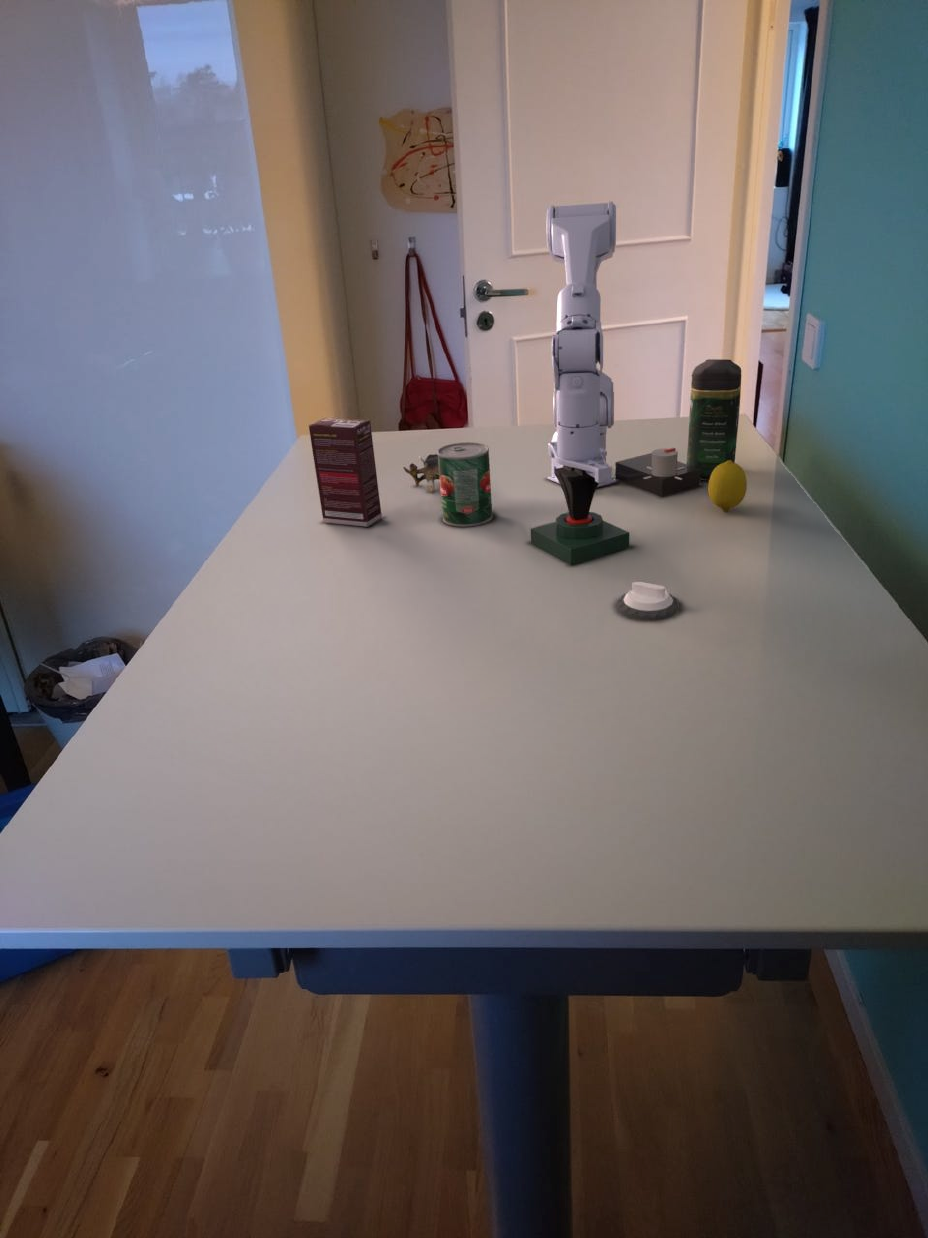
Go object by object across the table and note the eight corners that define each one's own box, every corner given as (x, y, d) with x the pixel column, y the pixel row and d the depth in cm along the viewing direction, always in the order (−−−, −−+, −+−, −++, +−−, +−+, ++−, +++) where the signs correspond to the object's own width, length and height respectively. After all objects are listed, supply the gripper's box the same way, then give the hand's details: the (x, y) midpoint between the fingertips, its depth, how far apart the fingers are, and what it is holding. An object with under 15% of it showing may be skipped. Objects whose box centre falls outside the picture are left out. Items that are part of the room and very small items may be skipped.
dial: (662, 478, 142) (663, 455, 140) (646, 472, 145) (646, 449, 143) (682, 473, 143) (683, 450, 142) (665, 467, 147) (666, 445, 145)
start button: (561, 528, 127) (561, 516, 127) (582, 522, 129) (581, 511, 128) (576, 535, 124) (576, 524, 124) (597, 529, 126) (597, 518, 125)
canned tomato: (502, 518, 139) (499, 449, 134) (458, 530, 136) (453, 460, 131) (475, 505, 145) (471, 439, 141) (433, 516, 142) (427, 449, 137)
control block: (530, 543, 130) (529, 517, 128) (586, 527, 134) (586, 501, 132) (571, 565, 122) (570, 537, 120) (629, 547, 126) (629, 520, 124)
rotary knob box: (605, 481, 152) (605, 463, 150) (651, 469, 156) (652, 451, 154) (660, 503, 141) (661, 484, 139) (709, 489, 145) (710, 470, 143)
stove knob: (665, 625, 105) (666, 603, 103) (607, 613, 108) (608, 592, 107) (687, 600, 110) (688, 578, 109) (631, 590, 114) (631, 569, 112)
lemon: (746, 518, 133) (750, 466, 129) (707, 517, 134) (710, 466, 130) (743, 505, 137) (747, 454, 134) (706, 505, 139) (709, 454, 135)
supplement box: (383, 517, 143) (372, 419, 136) (368, 528, 140) (355, 427, 132) (337, 512, 147) (324, 416, 140) (321, 522, 143) (306, 424, 136)
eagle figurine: (403, 490, 151) (453, 482, 148) (401, 449, 152) (451, 440, 149) (421, 500, 158) (469, 493, 155) (419, 461, 159) (467, 453, 156)
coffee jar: (733, 482, 147) (742, 367, 138) (684, 481, 149) (689, 368, 141) (735, 464, 155) (743, 355, 147) (688, 463, 157) (694, 355, 149)
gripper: (632, 429, 115) (631, 528, 121) (578, 406, 127) (579, 497, 133) (584, 438, 113) (584, 538, 119) (534, 414, 125) (536, 506, 131)
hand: (579, 517), depth 126 cm, fingers closed, pressing on start button
